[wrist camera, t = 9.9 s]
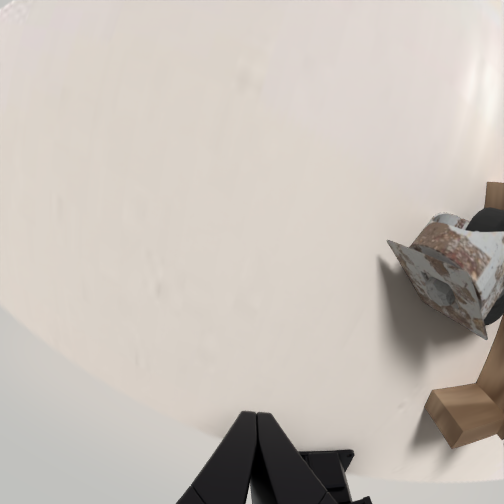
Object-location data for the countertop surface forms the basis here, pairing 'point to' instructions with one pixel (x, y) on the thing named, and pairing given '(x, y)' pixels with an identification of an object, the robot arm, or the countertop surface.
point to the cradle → (475, 384)
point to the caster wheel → (459, 267)
